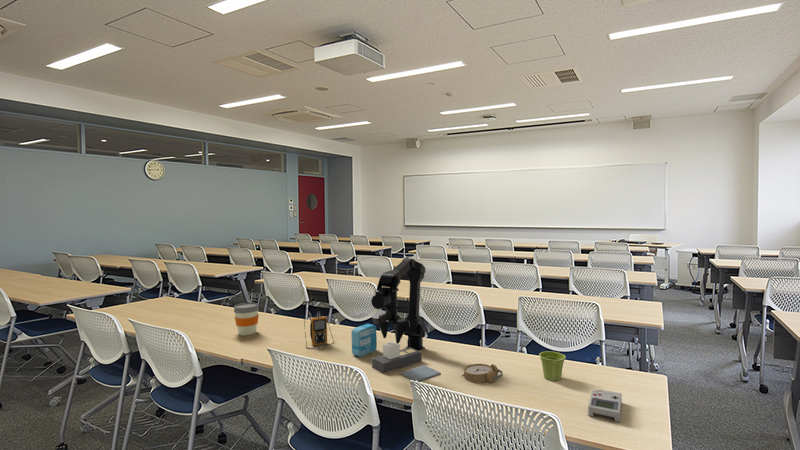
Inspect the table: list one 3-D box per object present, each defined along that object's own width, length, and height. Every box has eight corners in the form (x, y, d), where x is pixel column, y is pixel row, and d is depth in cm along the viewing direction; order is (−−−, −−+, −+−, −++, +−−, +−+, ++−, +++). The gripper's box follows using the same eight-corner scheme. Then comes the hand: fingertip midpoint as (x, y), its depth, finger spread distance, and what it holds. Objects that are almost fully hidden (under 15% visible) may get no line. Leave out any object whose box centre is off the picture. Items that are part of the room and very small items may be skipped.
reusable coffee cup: (264, 331, 226) (263, 304, 225) (245, 337, 216) (243, 309, 215) (249, 328, 233) (248, 301, 232) (229, 334, 222) (228, 306, 222)
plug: (393, 362, 177) (392, 341, 177) (400, 366, 173) (399, 344, 173) (383, 365, 174) (382, 344, 174) (390, 369, 170) (389, 347, 170)
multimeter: (309, 352, 192) (308, 309, 192) (304, 345, 201) (302, 304, 200) (339, 346, 199) (338, 305, 198) (333, 340, 208) (332, 301, 207)
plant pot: (536, 373, 163) (536, 351, 163) (560, 372, 163) (560, 351, 163) (543, 383, 154) (543, 360, 154) (569, 383, 154) (569, 359, 153)
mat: (424, 366, 172) (424, 365, 172) (440, 373, 164) (440, 372, 164) (401, 374, 165) (401, 372, 165) (417, 382, 157) (417, 380, 157)
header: (410, 356, 185) (409, 346, 184) (421, 361, 178) (421, 351, 178) (372, 367, 172) (372, 357, 172) (383, 373, 166) (383, 363, 166)
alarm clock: (466, 363, 168) (503, 360, 162) (468, 375, 168) (505, 373, 162) (459, 373, 158) (499, 372, 152) (462, 386, 158) (501, 385, 152)
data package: (359, 357, 184) (358, 330, 184) (351, 355, 187) (351, 329, 186) (377, 349, 194) (376, 324, 193) (369, 347, 196) (369, 322, 196)
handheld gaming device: (621, 403, 138) (621, 392, 138) (620, 424, 125) (620, 412, 125) (592, 398, 142) (592, 387, 142) (588, 418, 130) (587, 405, 129)
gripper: (361, 302, 175) (362, 339, 176) (387, 311, 160) (388, 351, 161) (383, 298, 182) (384, 333, 182) (410, 306, 167) (410, 344, 167)
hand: (391, 340), depth 173 cm, fingers open, 9 cm apart
